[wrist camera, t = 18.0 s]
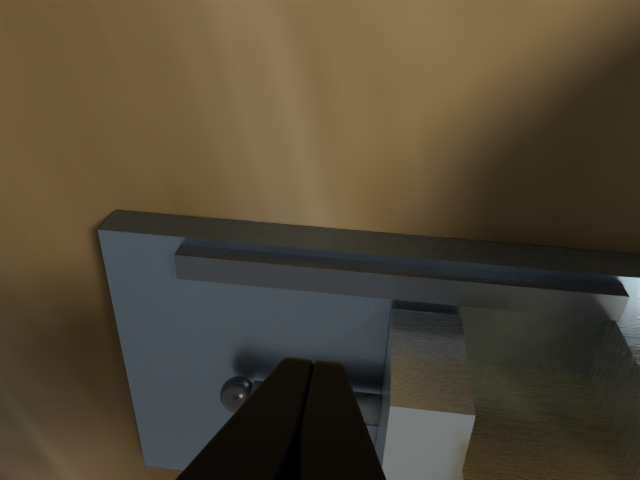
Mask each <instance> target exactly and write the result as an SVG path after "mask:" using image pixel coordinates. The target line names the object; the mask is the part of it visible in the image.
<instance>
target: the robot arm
mask: <svg viewBox="0 0 640 480" xmlns="http://www.w3.org/2000/svg"><path fill="white" fill-rule="evenodd" d="M175 480H386V477H385V474H384V472H383V469H382V466H381V464H380V461H379V458H378V456H377V453H376V450H375V447H374V445H373V442H372V439H371V437H370V434H369V431H368V429H367V426H366V423H365V421H364V418H363V415H362V412H361V410H360V407H359V404H358V402H357V399H356V396H355V394H354V391H353V388H352V386H351V383H350V380H349V377H348V375H347V372H346V369H345V367H344V365H343V364H342V363H340V362H333V361H324V360H317V361H315V362H314V364H313V362H312V361H311V360H310V359H305V358H295V357H286V358H284V359H282V360H281V361H280V363H279V364H278V365H277V366H276V367H275V368H274V369H273V370H272V372H271V373H270V374H269V375H268V376H267V377H266V378H265V379H264V381H263V382H262V383H261V384H260V385H259V386H258V387H257V388H256V390H255V391H254V392H253V393H252V394H251V395H250V396H249V397H248V399H247V400H246V401H245V402H244V403H243V404H242V405H241V406H240V408H239V409H238V410H237V411H236V412H235V413H234V414H233V415H232V416H231V418H230V419H229V420H228V421H227V422H226V423H225V424H224V425H223V427H222V428H221V429H220V430H219V431H218V432H217V433H216V434H215V436H214V437H213V438H212V439H211V440H210V441H209V442H208V443H207V445H206V446H205V447H204V448H203V449H202V450H201V451H200V452H199V454H198V455H197V456H196V457H195V458H194V459H193V460H192V461H191V463H190V464H189V465H188V466H187V467H186V468H185V469H184V470H183V471H182V473H181V474H180V475H179V476H178V477H177V478H176V479H175Z"/></svg>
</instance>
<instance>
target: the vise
mask: <svg viewBox="0 0 640 480" xmlns="http://www.w3.org/2000/svg"><path fill="white" fill-rule="evenodd" d="M98 235H99V240H100V245H101V250H102V254H103V259H104V264H105V269H106V274H107V279H108V284H109V289H110V294H111V299H112V304H113V309H114V314H115V318H116V323H117V328H118V333H119V338H120V343H121V348H122V353H123V358H124V363H125V368H126V373H127V378H128V382H129V387H130V392H131V397H132V402H133V407H134V412H135V417H136V422H137V427H138V432H139V437H140V441H141V446H142V451H143V456H144V461H145V466H148V467H156V468H164V469H172V470H180V471H183V470H184V469H185V468H186V467H187V466H188V465H189V464H190V463H191V461H192V460H193V459H194V458H195V457H196V456H197V455H198V454H199V452H200V451H201V450H202V449H203V448H204V447H205V446H206V445H207V443H208V442H209V441H210V440H211V439H212V438H213V437H214V436H215V434H216V433H217V432H218V431H219V430H220V429H221V428H222V427H223V425H224V424H225V423H226V422H227V421H228V420H229V419H230V418H231V416H232V415H233V414H234V413H233V412H230V411H228V410H227V409H226V408H225V407H224V406H223V405H222V403H221V400H220V391H221V388H222V386H223V384H224V383H225V382H226V381H227V380H228V379H230V378H232V377H235V376H242V377H245V378H247V379H249V380H250V381H251V382H252V383H253V382H254V381H264V379H265V378H266V377H267V376H268V375H269V374H270V373H271V372H272V370H273V369H274V368H275V367H276V366H277V365H278V364H279V363H280V361H281V360H282V359H284V358H286V357H295V358H305V359H310V360H311V361H312V362H313V364H314V362H315V361H317V360H324V361H333V362H340V363H342V364H343V365H344V367H345V369H346V372H347V375H348V377H349V380H350V383H351V386H352V388H353V391H355V392H364V393H373V394H382V388H383V380H384V372H385V363H386V355H387V347H388V338H389V330H390V322H391V314H392V309H402V310H412V311H423V312H433V313H443V314H454V315H461V317H462V324H463V331H464V338H465V345H466V352H467V359H468V363H477V364H487V365H497V366H506V367H516V368H526V369H535V370H545V371H554V372H564V373H574V374H583V375H588V376H589V379H590V381H591V384H592V386H593V389H594V392H595V394H596V397H597V399H598V402H599V404H600V407H601V410H602V412H603V415H604V417H605V420H606V422H607V425H608V428H609V430H610V433H611V435H612V438H613V440H614V443H615V445H616V448H617V451H618V453H619V456H620V458H621V461H622V463H623V466H624V469H625V471H626V474H627V476H628V479H629V480H640V255H639V254H627V253H615V252H604V251H592V250H580V249H568V248H557V247H545V246H533V245H522V244H510V243H498V242H487V241H475V240H463V239H452V238H440V237H428V236H417V235H405V234H393V233H382V232H370V231H358V230H347V229H335V228H323V227H312V226H300V225H288V224H276V223H265V222H253V221H241V220H230V219H218V218H206V217H195V216H183V215H171V214H160V213H148V212H136V211H125V210H115V211H114V212H113V213H112V214H111V215H110V216H109V217H108V218H107V220H106V221H105V222H104V223H103V224H102V225H101V226H100V227H99V229H98ZM366 426H367V429H368V431H369V434H370V437H371V439H372V442H373V445H374V447H375V446H376V438H377V430H378V427H377V426H368V425H366Z"/></svg>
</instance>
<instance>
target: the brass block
mask: <svg viewBox="0 0 640 480" xmlns="http://www.w3.org/2000/svg"><path fill="white" fill-rule="evenodd" d="M468 366H469V372H470V379H471V386H472V393H473V400H474V407H475V414H476V417H475V421H474V425H473V429H472V433H471V437H470V441H469V445H468V449H467V453H466V457H465V461H464V465H463V469H462V473H461V477H460V480H629V479H628V476H627V474H626V471H625V469H624V466H623V463H622V461H621V458H620V456H619V453H618V451H617V448H616V445H615V443H614V440H613V438H612V435H611V433H610V430H609V428H608V425H607V422H606V420H605V417H604V415H603V412H602V410H601V407H600V404H599V402H598V399H597V397H596V394H595V392H594V389H593V386H592V384H591V381H590V379H589V376H588V375H583V374H574V373H564V372H554V371H545V370H535V369H526V368H516V367H506V366H497V365H487V364H477V363H468Z"/></svg>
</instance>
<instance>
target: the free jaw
mask: <svg viewBox="0 0 640 480" xmlns="http://www.w3.org/2000/svg"><path fill="white" fill-rule="evenodd" d="M262 382H263V381H254V382H253V383H252V382H251V381H250V380H249V379H247V378H245V377H242V376H235V377H232V378H230V379H228V380H227V381H226V382H225V383H224V384H223V386H222V388H221V391H220V400H221V403H222V405H223V406H224V407H225V408H226V409H227V410H228V411H230V412H233V413H235V412H236V411H237V410H238V409H239V408H240V406H241V405H242V404H243V403H244V402H245V401H246V400H247V399H248V397H249V396H250V395H251V394H252V393H253V392H254V391H255V390H256V388H257V387H258V386H259V385H260V384H261V383H262ZM354 394H355V396H356V399H357V402H358V404H359V407H360V410H361V412H362V415H363V418H364V421H365V423H366V425H368V426H377V427H378V430H377V438H376V446H375V450H376V453H377V456H378V458H379V461H380V464H381V466H382V469H383V472H384V474H385V477H386V480H460V477H461V473H462V469H463V465H464V461H465V457H466V453H467V449H468V445H469V441H470V437H471V433H472V429H473V425H474V421H475V417H476V414H475V407H474V400H473V393H472V386H471V379H470V372H469V366H468V359H467V352H466V345H465V338H464V331H463V324H462V317H461V315H454V314H443V313H433V312H423V311H412V310H402V309H392V314H391V322H390V330H389V338H388V347H387V355H386V363H385V372H384V380H383V388H382V394H373V393H364V392H355V391H354Z"/></svg>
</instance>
